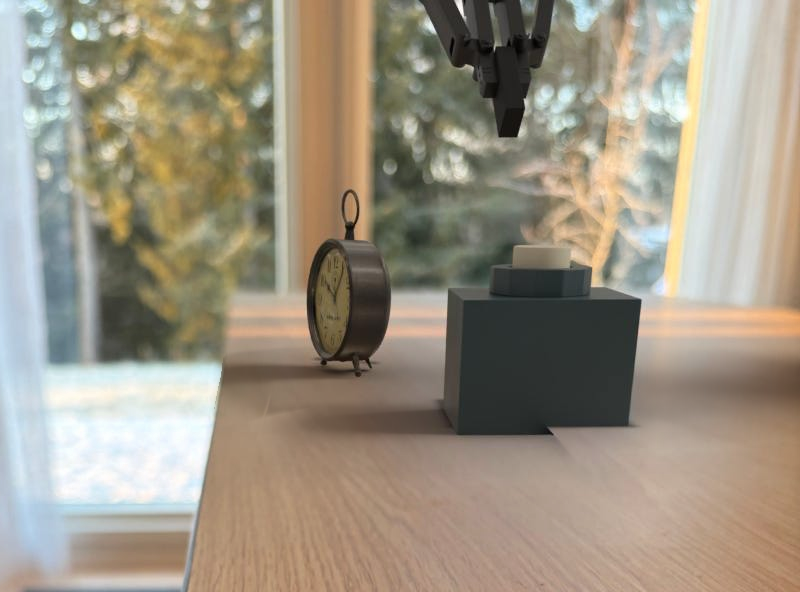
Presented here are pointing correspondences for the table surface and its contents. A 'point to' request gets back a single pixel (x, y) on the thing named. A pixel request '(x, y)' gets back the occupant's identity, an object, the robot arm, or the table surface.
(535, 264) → the lid button
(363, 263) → the alarm clock
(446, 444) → the table surface
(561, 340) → the block with cream knob
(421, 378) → the table surface
